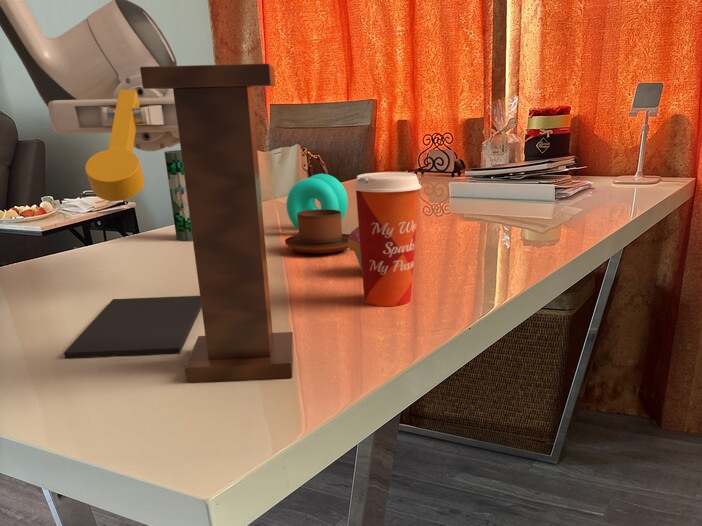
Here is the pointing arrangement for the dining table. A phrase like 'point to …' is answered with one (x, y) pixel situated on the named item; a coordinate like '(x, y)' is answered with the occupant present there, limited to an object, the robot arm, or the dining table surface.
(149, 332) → the mat
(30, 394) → the dining table surface
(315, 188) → the donuts
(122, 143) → the scoop
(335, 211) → the cup and saucer
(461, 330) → the dining table surface
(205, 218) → the stand
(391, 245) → the coffee cup
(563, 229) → the dining table surface
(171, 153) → the can
